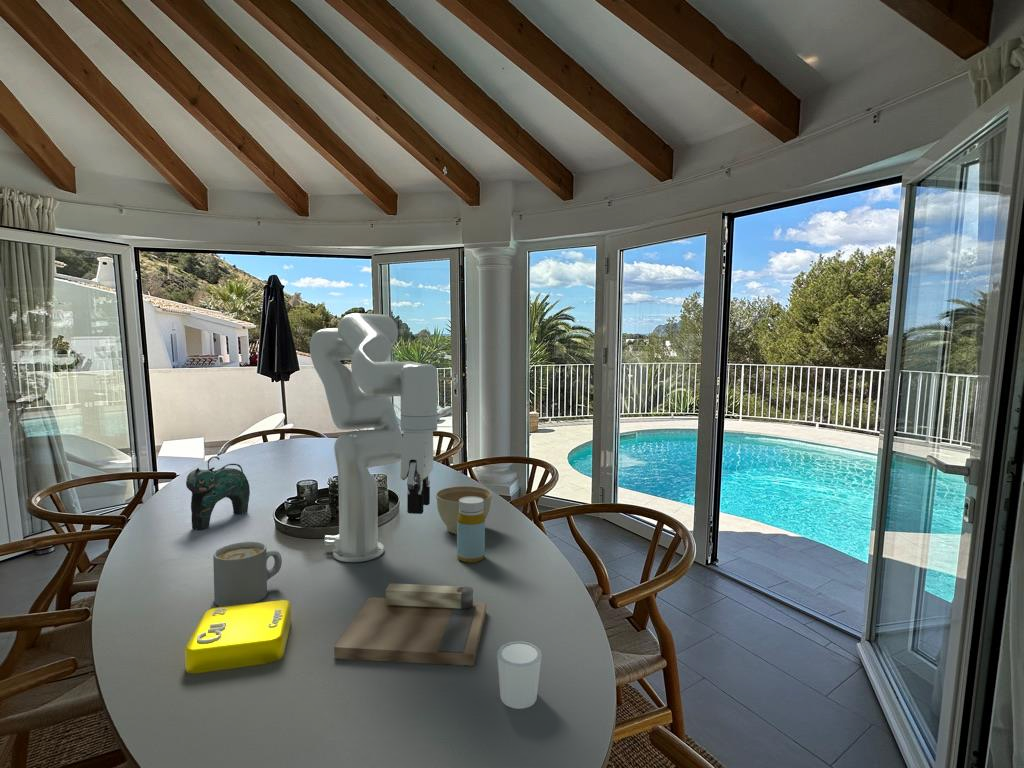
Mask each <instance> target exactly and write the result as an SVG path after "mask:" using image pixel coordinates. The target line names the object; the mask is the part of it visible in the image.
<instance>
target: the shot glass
mask: <svg viewBox="0 0 1024 768" xmlns="http://www.w3.org/2000/svg"><path fill="white" fill-rule="evenodd" d="M542 654H543V653H542V651H541V649H540V648H539V646H537V645H535V644H534V643H531V642H527V641H519V640H518V641H517V640H516V641H509V642H508V643H505V644H503V645H501V646H500V647H499V648H498V649H497V654H496V659H497V672H498V681H499V682H498V685H499V696H500V699H501V702H502V703H503V704H504V705H505V706H507V707H509V708H512V709H517V710H518V709H519V710H522V709H528V708H529V707H531V706H534V704H535V703H536V702H537V699H538V698H537V697H538V692H539V691H538V689H539V682H540V681H539V680H540V672H541V665H542V664H541V663H542Z"/></svg>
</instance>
